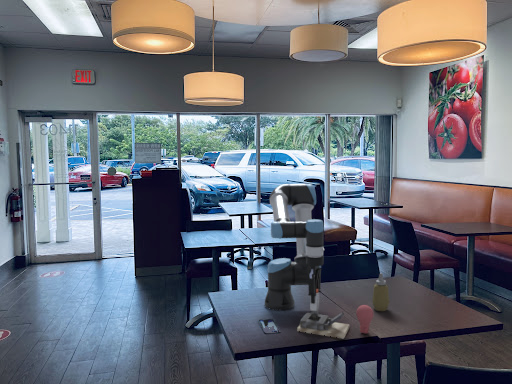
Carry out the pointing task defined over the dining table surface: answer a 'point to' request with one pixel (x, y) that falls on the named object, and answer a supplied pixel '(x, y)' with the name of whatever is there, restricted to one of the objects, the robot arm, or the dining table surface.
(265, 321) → the smartphone
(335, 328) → the block
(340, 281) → the dining table surface
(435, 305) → the dining table surface
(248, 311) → the dining table surface
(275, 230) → the robot arm
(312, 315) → the pin
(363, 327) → the light bulb
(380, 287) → the squeeze bottle
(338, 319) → the tab
